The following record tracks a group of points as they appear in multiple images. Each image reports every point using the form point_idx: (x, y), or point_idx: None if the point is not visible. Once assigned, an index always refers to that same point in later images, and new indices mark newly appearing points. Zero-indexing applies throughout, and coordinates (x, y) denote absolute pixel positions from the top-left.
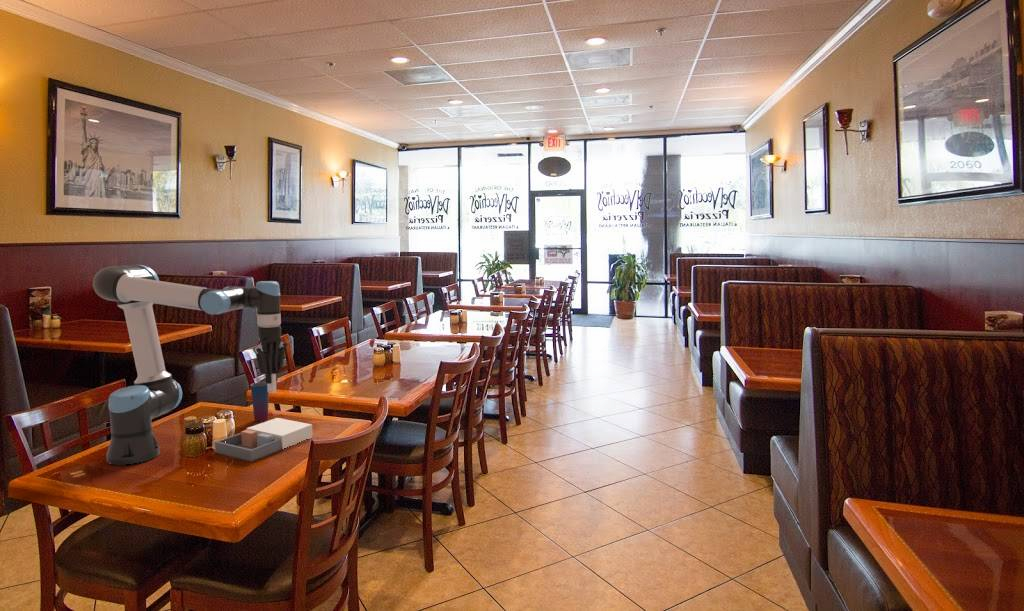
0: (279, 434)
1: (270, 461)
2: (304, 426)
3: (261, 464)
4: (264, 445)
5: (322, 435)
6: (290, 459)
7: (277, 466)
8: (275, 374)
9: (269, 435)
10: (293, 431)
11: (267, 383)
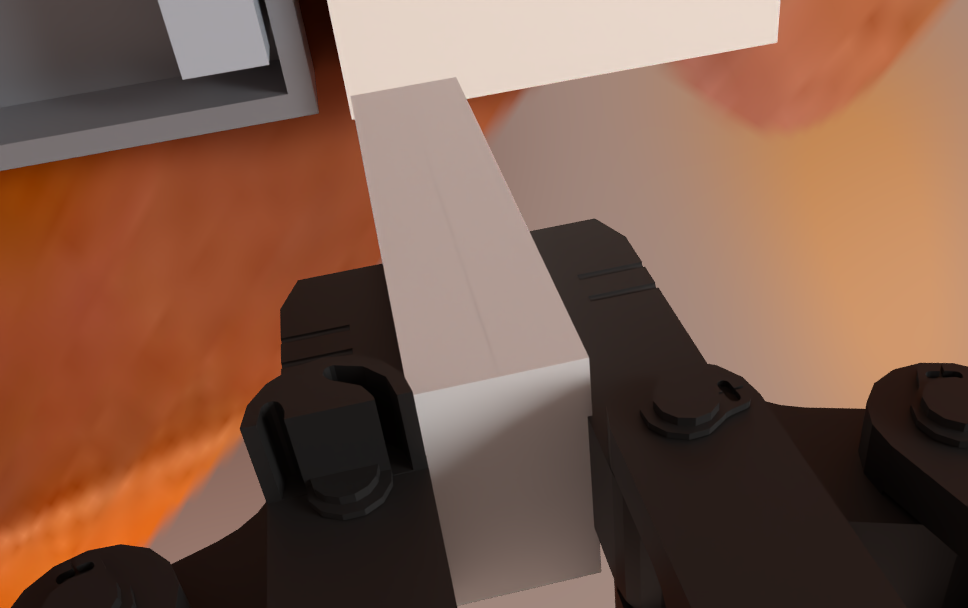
0: (359, 53)
1: (115, 234)
2: (690, 34)
3: (24, 238)
4: (108, 150)
5: (800, 24)
6: (259, 309)
7: (111, 357)
8: (578, 556)
9: (236, 43)
10: (513, 87)
11: (372, 197)
